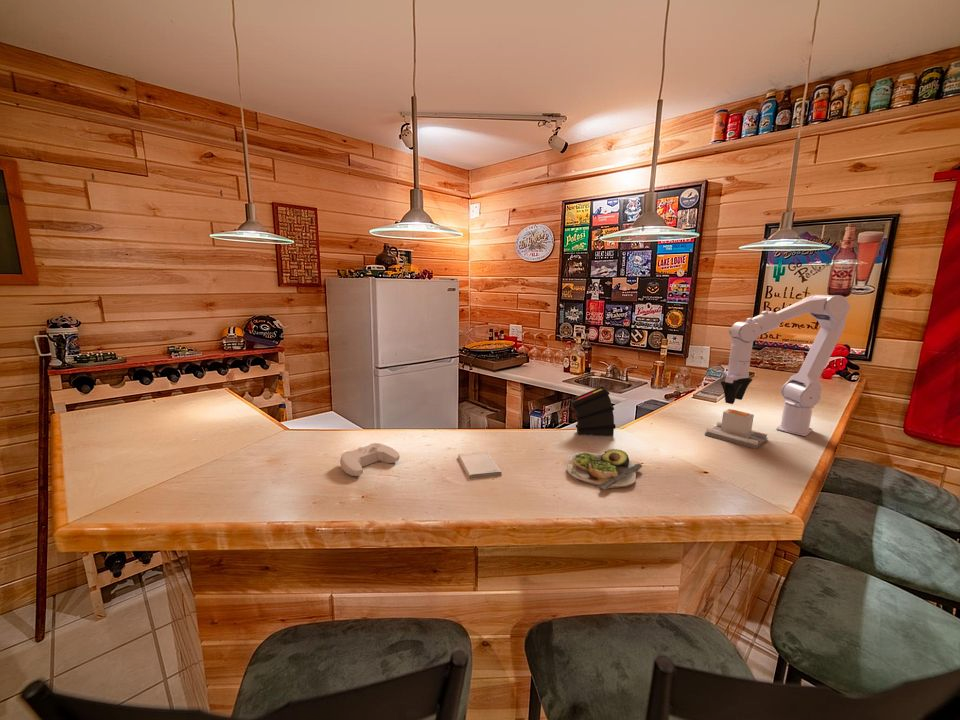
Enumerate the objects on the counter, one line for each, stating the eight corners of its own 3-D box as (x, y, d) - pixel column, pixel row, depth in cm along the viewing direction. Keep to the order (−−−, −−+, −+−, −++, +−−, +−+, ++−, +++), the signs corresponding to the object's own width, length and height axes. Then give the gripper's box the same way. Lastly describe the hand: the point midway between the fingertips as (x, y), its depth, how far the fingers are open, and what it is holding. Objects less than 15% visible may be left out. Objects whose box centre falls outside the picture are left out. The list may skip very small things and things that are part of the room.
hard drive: (501, 471, 103) (487, 450, 115) (469, 474, 101) (458, 453, 113) (501, 477, 103) (487, 456, 115) (469, 481, 101) (458, 459, 113)
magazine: (625, 431, 129) (607, 388, 127) (584, 448, 131) (566, 405, 128) (621, 427, 133) (604, 385, 130) (582, 443, 134) (564, 401, 132)
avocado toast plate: (639, 502, 92) (641, 483, 92) (558, 486, 99) (559, 468, 98) (642, 466, 110) (643, 450, 109) (573, 455, 117) (574, 439, 116)
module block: (725, 429, 135) (728, 408, 133) (750, 436, 130) (754, 413, 128) (720, 433, 132) (723, 410, 131) (745, 439, 127) (749, 416, 125)
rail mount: (718, 427, 140) (719, 421, 139) (767, 439, 129) (768, 433, 129) (704, 434, 133) (705, 428, 132) (755, 448, 122) (756, 442, 122)
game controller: (353, 470, 98) (332, 449, 104) (352, 486, 99) (331, 464, 106) (404, 452, 108) (382, 434, 114) (402, 466, 110) (380, 448, 116)
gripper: (734, 355, 142) (728, 394, 144) (717, 360, 132) (711, 402, 135) (758, 358, 136) (752, 399, 139) (742, 364, 127) (736, 407, 130)
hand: (733, 401), depth 137 cm, fingers open, 7 cm apart
